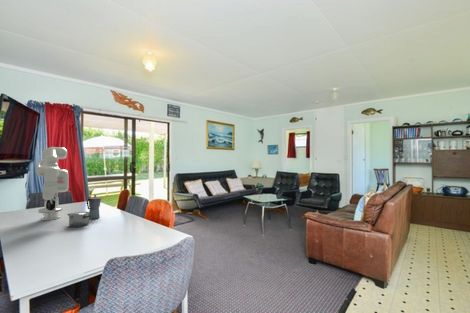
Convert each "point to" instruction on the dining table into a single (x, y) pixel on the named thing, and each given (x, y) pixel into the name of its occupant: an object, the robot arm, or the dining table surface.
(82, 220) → the cooker pot
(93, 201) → the moka pot
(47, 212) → the lid
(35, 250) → the dining table surface
